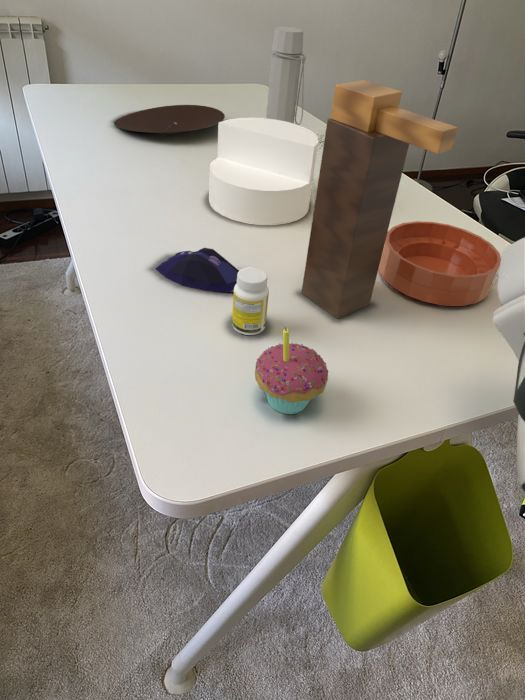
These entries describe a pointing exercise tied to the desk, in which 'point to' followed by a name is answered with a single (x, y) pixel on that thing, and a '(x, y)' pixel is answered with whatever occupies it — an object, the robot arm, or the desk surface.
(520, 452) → the robot arm
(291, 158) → the white stepped cylinder
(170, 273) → the computer mouse
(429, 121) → the wooden t-shaped block
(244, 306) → the supplement bottle
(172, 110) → the plate
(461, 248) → the bowl
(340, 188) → the stand
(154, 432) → the desk surface
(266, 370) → the cupcake
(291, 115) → the water bottle
